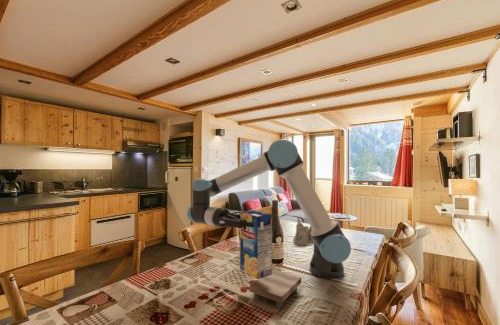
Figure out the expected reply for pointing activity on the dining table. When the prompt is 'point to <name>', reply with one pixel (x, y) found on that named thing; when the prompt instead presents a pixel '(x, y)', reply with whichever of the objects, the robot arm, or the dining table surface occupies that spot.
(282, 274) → the small low table
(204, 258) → the dining table surface
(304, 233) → the ceramic cottage
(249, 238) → the beverage box
